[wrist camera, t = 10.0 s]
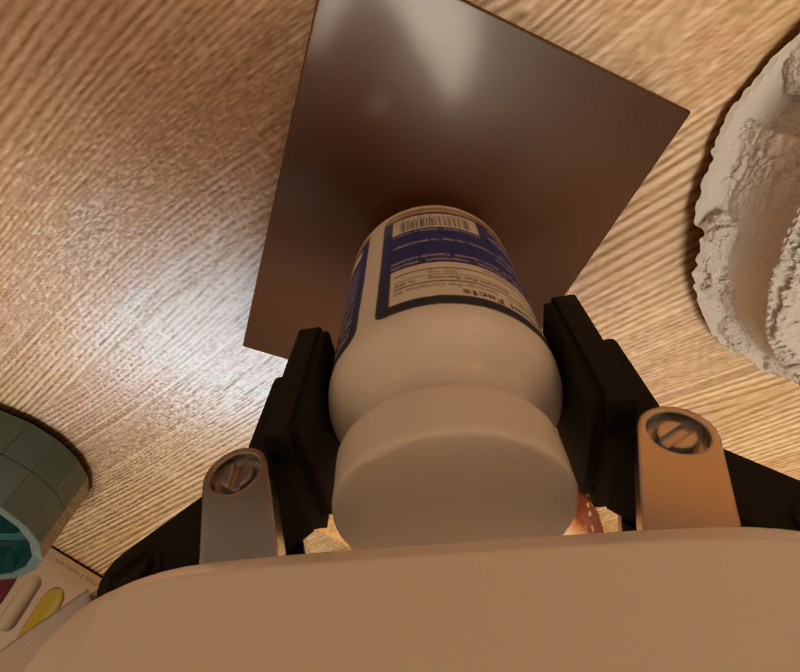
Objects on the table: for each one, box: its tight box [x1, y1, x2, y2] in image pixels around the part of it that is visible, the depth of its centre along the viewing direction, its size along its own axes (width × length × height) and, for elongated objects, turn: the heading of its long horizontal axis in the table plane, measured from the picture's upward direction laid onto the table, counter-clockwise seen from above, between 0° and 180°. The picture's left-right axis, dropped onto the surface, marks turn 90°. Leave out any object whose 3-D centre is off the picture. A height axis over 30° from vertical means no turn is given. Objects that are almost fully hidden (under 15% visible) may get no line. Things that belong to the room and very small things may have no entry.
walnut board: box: [243, 0, 690, 359], centre depth 19 cm, size 16×13×1 cm
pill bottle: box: [328, 205, 578, 550], centre depth 12 cm, size 6×6×10 cm
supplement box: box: [0, 548, 102, 650], centre depth 35 cm, size 17×13×9 cm
